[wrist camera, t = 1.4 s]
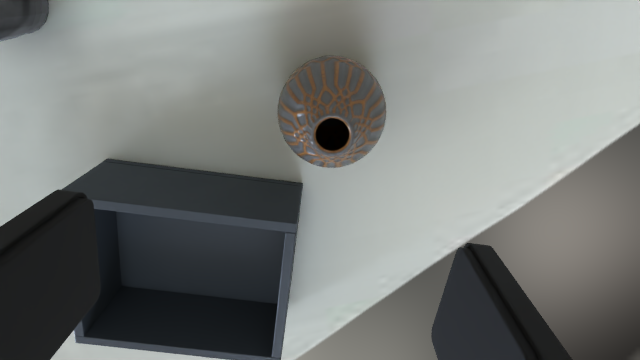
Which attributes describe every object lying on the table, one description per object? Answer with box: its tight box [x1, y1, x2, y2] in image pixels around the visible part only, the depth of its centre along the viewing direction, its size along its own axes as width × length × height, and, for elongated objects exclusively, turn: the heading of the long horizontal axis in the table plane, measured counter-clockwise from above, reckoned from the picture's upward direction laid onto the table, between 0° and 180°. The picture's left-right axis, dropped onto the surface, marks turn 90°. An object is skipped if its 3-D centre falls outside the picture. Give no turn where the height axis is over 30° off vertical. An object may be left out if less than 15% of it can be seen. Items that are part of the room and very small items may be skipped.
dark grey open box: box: [62, 159, 303, 360], centre depth 31 cm, size 12×15×7 cm
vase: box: [278, 56, 386, 168], centre depth 25 cm, size 7×7×9 cm
